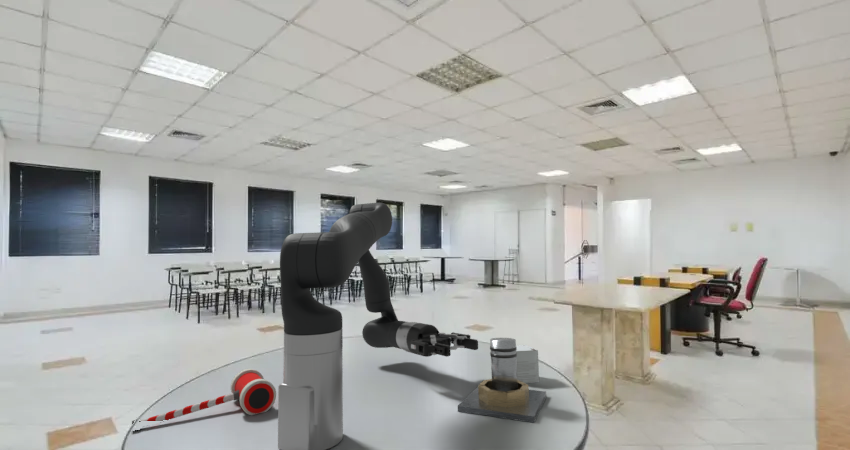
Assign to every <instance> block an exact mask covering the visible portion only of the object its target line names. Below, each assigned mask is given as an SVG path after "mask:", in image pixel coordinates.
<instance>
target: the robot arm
mask: <svg viewBox="0 0 850 450" xmlns="http://www.w3.org/2000/svg"><path fill="white" fill-rule="evenodd" d="M392 227H393V215H392V212H391V209H390V207H389V206H388V205H387V204H386V203H383V202H370V203H369V202H368V203H360V204H358V203H357V204H354V205H352V206H351V207H350V210H349V213H348V214H345V215H344V216H342V217H340V218H339V219H337V220H336V221H335V222H334V223H333V224H332V225H331V227H330V229H329V231H326V232H297V233H296V232H295V233H291V234H289V235H287V236H286V237H285V238H284V240H283V243H282V244H281V248H280V253H279V277H280V298H281V299H280V300H281V303H280V304H281V306H280V307H281V316H282V320H283V322H282V323H283V377H282V378H283V382H282V383H280V384H279V385H278V392H277V393H278V401H277V402H278V407H277V408H278V409H277V413H278V414H277V449H278V450H328V449H331V448H333V447H335V446H337V445H339V443H340V442H342V440H343V438H344V420H343V419H344V414H343V413H344V409H343V408H344V405H343V404H344V403H343V401H344V400H343V399H344V398H343V397H344V395H343V392H344V391H343V387H344V386H343V385H344V383H343V380H344V379H343V377H344V376H343V373H344V372H343V369H344V368H343V366H344V364H343V360H344V359H343V314H342V313H341V311H340V310H338V309H336V308H333V307H330V306H328V305H326V304H323V303H321V302H320V301H318V300H317V299H316V298H315V297H314V296H313V295H312V292H311V289H329V288H331V289H332V288H337V287H340V286H342V285H344V284H345V282H347V280H348V279H349V277H350V276H351V275H352V273H353V270H354V269H355V267H356V265H357V263H358V266H359V269H360V274H361V278H362V285H363V291H364V292H363V293H364V300H365V307H366V310H367V311H368V312H370V313H377V314H378V313H380V315H381V317H378V318H375V319H372V320H369V321H367V322H366V323H365V325H364V326H363V328H362V332H361V333H362V338H363V340H364V342H365V343H366V344H367V345H368V346H370V347H372V348H375V349H376V348H377V349H381V348H382V349H384V348H385V349H387V348H396V349H400V350H403V351H405V352H406V353H407V352H408V353H411V354H414V355H418V356H420V357H426V358H427V357H428V358H429V357H431V356H435V355H439V356H442V357H446V358H447V357H450V356H451V354H452V353H451V351H453V350H454V351H456V350H457V349H458V348H460V349H462V348H463V349H469V350H473V351H478V349H479V341H478V339H475V338H471V335H470V334H465V333H457V332H454V331H453V332H450V333H446V332H439V329H438V328H437V327H436V326H435V325H433V324H428V323H421V322H416V321H404V320H399V319H398V317H397V315H396V312H395V310H394V306H393V303H392V300H391V291H390V283H389V279H388V276H387V274H386V272H385V271H384V269H383V268H382V267H381V265H380V264H379V263H378V262H377V260H376V259H375V258H374V256H373V254H372V252H371V251H370V249H371V248H372V247H373V245H374V244H376V243H377V242H378V241H379V240H380V239H382V238H384V237H386V236H387V235H389V233H390V231H391V229H392ZM452 344H453V346H451V345H452Z"/></svg>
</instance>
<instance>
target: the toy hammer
mask: <svg viewBox="0 0 850 450" xmlns="http://www.w3.org/2000/svg"><path fill="white" fill-rule="evenodd" d="M230 392H231V393H228V394H225V395H221V396H217V397H214V398H210V399H208V400H204V401H201V402H198V403H194V404H191V405H188V406H185V407H181V408H177V409H174V410H170V411H168V412H164V413H160V414H157V415H155V416H151V417H146V418H143V419H140V420H141V421H163V420H167V421H170V420H173V419H175V418H176V419H177V418H180V417H182V416H185V415H188V414H193V413H195V412H199V411H202V410H205V409H208V408H213V407H215V406H218V405H222V404H225V403H228V402H232V401H239V405H240V408H241V409H242V410H243V412H244V413H246V414H247V415H250V416H253V415H257V414H258V415H259V414H262V413H267V412H268V411H269V410H270V409H271V408H272V407H273V405H274V404H275V402H276V399H277V390H276V387H275V386H274V384H272V382H270V381H269V380H268V379H265V378H264V376H263V375H262V373H261V372H260V371H258V370H257V369H255V368H245V369H242V370H241V371H239V372H237V373H236V374H235V376H234V377H233V379H232V380H231V383H230ZM169 419H170V420H169ZM135 420H136V419H135ZM135 420H131V425H132V424H133V423H134V421H135ZM141 421H139V422H141ZM163 422H164V421H163Z"/></svg>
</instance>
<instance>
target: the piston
mask: <svg viewBox="0 0 850 450" xmlns="http://www.w3.org/2000/svg"><path fill="white" fill-rule="evenodd" d="M489 340H490V342H489V343H490V346H489V350H490V352H489V354H490V366H491V368H490V369H491V379H492V390H498V391H513V390H518V379H517V358H516V356H517V353H516V350H517V347H516V345H517V341H516V339H515V338H512V337H494V338H493V337H492V338H490V339H489Z"/></svg>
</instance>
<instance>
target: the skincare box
mask: <svg viewBox="0 0 850 450" xmlns="http://www.w3.org/2000/svg"><path fill="white" fill-rule="evenodd" d="M516 347H517V350H516V353H517V356H516V358H517V379H518V380H519V381H521V382H523V383H525V384H532V383H539V382H540V371H539V367H540V366H539V350H538V349H536V348H535V347H532V346H530V345H527V344H519V345H518V344H516Z"/></svg>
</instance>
